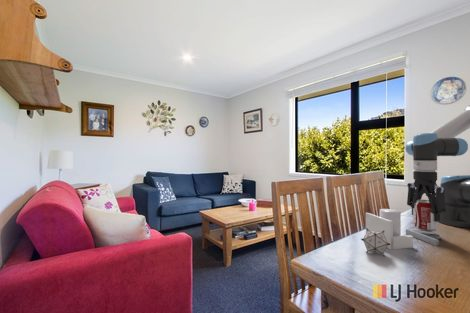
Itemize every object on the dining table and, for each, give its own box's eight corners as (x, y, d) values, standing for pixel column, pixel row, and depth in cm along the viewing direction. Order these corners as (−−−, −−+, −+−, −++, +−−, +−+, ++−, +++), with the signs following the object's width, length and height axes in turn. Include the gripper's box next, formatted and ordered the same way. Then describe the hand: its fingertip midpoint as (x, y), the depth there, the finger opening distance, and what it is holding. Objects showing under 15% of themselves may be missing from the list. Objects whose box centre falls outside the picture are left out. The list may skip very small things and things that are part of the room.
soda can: (440, 233, 87) (440, 202, 87) (421, 232, 89) (420, 202, 89) (429, 227, 94) (428, 199, 94) (411, 226, 95) (410, 199, 95)
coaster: (423, 230, 97) (423, 229, 97) (446, 238, 88) (446, 236, 88) (405, 232, 95) (405, 230, 95) (426, 239, 86) (426, 238, 86)
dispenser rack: (408, 233, 93) (408, 205, 93) (438, 245, 81) (438, 212, 81) (365, 237, 90) (365, 207, 90) (390, 249, 78) (390, 216, 78)
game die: (378, 267, 74) (378, 250, 68) (355, 249, 81) (354, 232, 75) (396, 251, 76) (397, 233, 70) (372, 234, 83) (372, 217, 77)
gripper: (396, 169, 100) (396, 219, 101) (443, 172, 81) (443, 235, 81) (410, 169, 101) (410, 218, 102) (460, 172, 82) (460, 233, 82)
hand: (425, 226), depth 91 cm, fingers closed on soda can, 7 cm apart
